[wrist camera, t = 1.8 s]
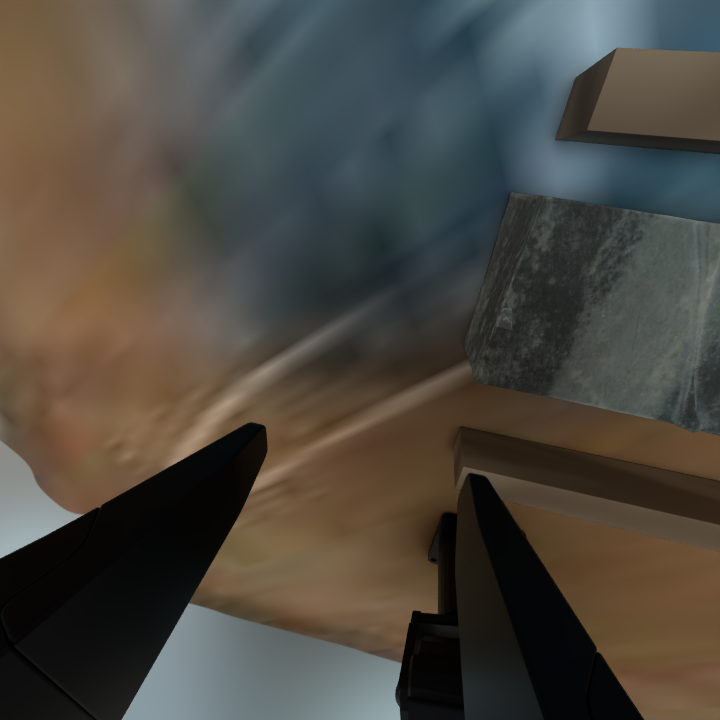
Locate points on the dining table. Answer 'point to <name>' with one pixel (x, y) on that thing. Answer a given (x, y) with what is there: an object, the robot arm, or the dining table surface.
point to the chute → (586, 471)
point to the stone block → (603, 310)
